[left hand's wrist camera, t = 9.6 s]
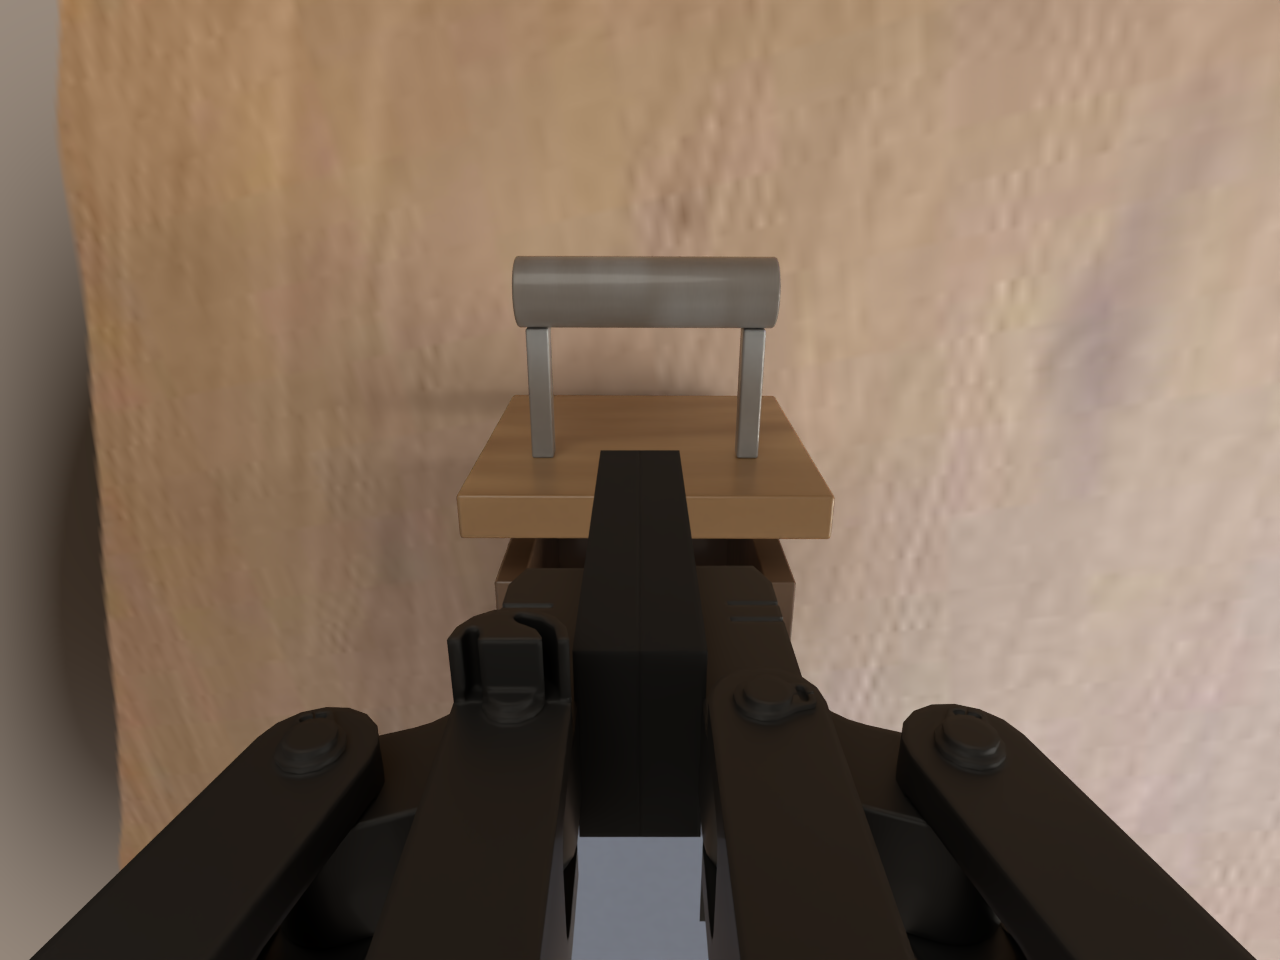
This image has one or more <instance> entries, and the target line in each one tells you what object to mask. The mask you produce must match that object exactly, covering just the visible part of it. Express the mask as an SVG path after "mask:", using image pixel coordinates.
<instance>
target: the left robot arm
mask: <svg viewBox="0 0 1280 960" xmlns="http://www.w3.org/2000/svg"><path fill="white" fill-rule="evenodd" d="M447 644H448V653H449V662H450V671H451V680H452V689H453V699H454V704H453V707H452V709H451V712H450V714H449V715H447V716H445V717H443V718H441V719H438V720H436V721H434V722H432V723H429V724H425V725H422V726H419V727H415V728H411V729H407V730H402V731H398V732H394V733H389V734H385V735H380V736H379V734H378V728H377V725H376V724H375V723H374V722H373V721H372V719H371V718H370V717H369V716H368V715H367V714H365V713H362V712H359V711H356V710H354V709H351V708H337V707H325V708H320V709H315V710H311V711H306V712H301V713H299V714H297V715H294V716H292V717H290V718H287V719H285V720H283V721H281V722H278V723H277V724H275V725H274V726H273V727H271V728H270V729H268V730H267V731H266V732H264V733H263V734H262V735H260V736H259V737H258V738H257V739H256V740H254V741H253V742H252V743H251V744H250V745H249V746H248V747H247V748H246V749H245V750H244V751H243V752H242V753H241V754H240V755H239V756H238V757H237V758H236V759H235V760H234V761H233V762H232V763H231V764H230V765H229V766H228V767H227V768H226V769H225V770H224V771H223V772H222V773H221V774H220V775H219V776H218V777H216V778H215V779H214V780H213V781H212V782H211V783H210V784H209V785H208V786H207V787H206V788H205V789H204V790H203V791H202V792H201V793H200V794H199V795H198V796H197V797H196V798H195V799H194V800H193V801H192V802H191V803H190V804H189V805H188V806H187V807H186V808H185V809H184V810H183V811H182V812H181V813H180V814H178V815H177V816H176V817H175V818H174V819H173V820H172V821H171V822H170V823H169V824H168V825H167V826H166V827H165V828H164V829H163V830H162V831H161V832H160V833H159V834H158V835H157V836H156V837H155V838H154V839H153V840H152V841H151V842H150V843H149V844H148V845H147V846H146V847H145V848H144V849H143V850H142V851H140V852H139V853H138V854H137V855H136V856H135V857H134V858H133V859H132V860H131V861H130V862H129V863H128V864H127V865H126V866H125V867H124V868H123V869H122V870H121V871H120V872H119V873H118V874H117V875H116V876H115V877H114V878H113V879H112V880H111V881H110V882H109V883H108V884H107V885H106V886H105V887H104V888H102V889H101V890H100V891H99V892H98V893H97V894H96V895H95V896H94V897H93V898H92V899H91V900H90V901H89V902H88V903H87V904H86V905H85V906H84V907H83V908H82V909H81V910H80V911H79V912H78V913H77V914H76V915H75V916H74V917H73V918H72V919H71V920H70V921H69V922H68V923H67V924H66V925H64V926H63V928H61V929H60V930H59V931H58V932H57V933H56V934H55V935H54V936H53V937H52V938H51V939H50V940H49V941H48V942H47V943H46V944H45V945H44V946H43V947H42V948H41V949H40V950H39V951H38V952H37V953H36V954H35V955H34V956H33V957H32V958H31V959H30V960H572V948H573V936H574V924H575V912H576V900H577V888H578V876H579V872H578V848H577V841H578V830H579V837H701V827H702V837H703V848H702V872H701V897H700V921H705V923H706V935H707V947H708V959H709V960H1256V959H1255V958H1254V957H1253V956H1252V955H1251V954H1250V953H1249V952H1248V951H1247V950H1246V949H1245V948H1244V947H1243V946H1242V945H1241V944H1240V943H1239V942H1238V941H1237V940H1236V939H1235V938H1234V937H1233V936H1232V935H1230V934H1229V933H1228V932H1227V931H1226V930H1225V929H1224V928H1223V927H1222V926H1221V925H1220V924H1219V923H1218V922H1217V921H1216V920H1215V919H1214V918H1213V917H1212V916H1211V915H1210V914H1209V913H1208V912H1207V911H1206V910H1205V909H1204V908H1203V907H1202V906H1200V905H1199V904H1198V903H1197V902H1196V901H1195V900H1194V899H1193V898H1192V897H1191V896H1190V895H1189V894H1188V893H1187V892H1186V891H1185V890H1184V889H1183V888H1182V887H1181V886H1180V885H1179V884H1178V883H1177V882H1176V881H1175V880H1174V879H1173V878H1172V877H1170V876H1169V875H1168V874H1167V873H1166V872H1165V871H1164V870H1163V869H1162V868H1161V867H1160V866H1159V865H1158V864H1157V863H1156V862H1155V861H1154V860H1153V859H1152V858H1151V857H1150V856H1149V855H1148V854H1147V853H1146V852H1145V851H1144V850H1143V849H1141V848H1140V847H1139V846H1138V845H1137V844H1136V843H1135V842H1134V841H1133V840H1132V839H1131V838H1130V837H1129V836H1128V835H1127V834H1126V833H1125V832H1124V831H1123V830H1122V829H1121V828H1120V827H1119V826H1118V825H1117V824H1116V823H1115V822H1114V821H1113V820H1111V819H1110V818H1109V817H1108V816H1107V815H1106V814H1105V813H1104V812H1103V811H1102V810H1101V809H1100V808H1099V807H1098V806H1097V805H1096V804H1095V803H1094V802H1093V801H1092V800H1091V799H1090V798H1089V797H1088V796H1087V795H1086V794H1085V793H1084V792H1083V791H1081V790H1080V789H1079V788H1078V787H1077V786H1076V785H1075V784H1074V783H1073V782H1072V781H1071V780H1070V779H1069V778H1068V777H1067V776H1066V775H1065V774H1064V773H1063V772H1062V771H1061V770H1060V769H1059V768H1058V767H1057V766H1056V765H1055V764H1054V763H1053V762H1051V761H1050V760H1049V759H1048V758H1047V757H1046V756H1045V755H1044V754H1043V753H1042V752H1041V751H1040V750H1039V749H1038V748H1037V747H1036V746H1035V745H1034V744H1033V743H1032V742H1031V741H1030V740H1029V739H1028V738H1027V737H1026V736H1025V735H1024V734H1022V733H1021V732H1020V731H1018V730H1017V729H1015V728H1014V727H1013V726H1011V725H1010V724H1009V723H1007V722H1006V721H1005V720H1003V719H1001V718H998V717H996V716H994V715H992V714H989V713H987V712H985V711H982V710H980V709H976V708H971V707H966V706H962V705H957V704H935V705H929V706H926V707H923V708H921V709H918V710H915V711H913V712H912V713H911V715H910V716H909V717H908V718H907V719H906V720H905V721H904V722H903V728H902V733H901V732H896V731H892V730H887V729H883V728H878V727H874V726H869V725H865V724H862V723H858V722H855V721H852V720H848V719H846V718H844V717H842V716H840V715H838V714H836V713H833V712H831V711H830V710H829V708H828V705H827V703H826V701H825V699H824V698H823V696H822V694H821V693H820V691H819V690H818V688H817V687H816V686H814V685H813V684H811V683H810V682H808V681H807V680H806V679H804V678H803V677H802V676H801V673H800V669H799V666H798V663H797V660H796V657H795V654H794V651H793V648H792V644H791V641H790V638H789V635H788V632H787V629H786V626H785V622H783V616H782V613H781V610H780V607H779V605H778V601H777V597H776V594H775V591H774V588H773V585H772V582H771V581H770V580H769V579H767V578H766V577H765V576H764V575H763V574H762V573H761V572H760V571H758V570H757V569H756V568H755V567H754V566H696V564H695V557H694V550H693V543H692V536H691V529H690V522H689V515H688V507H687V500H686V493H685V486H684V479H683V472H682V465H681V458H680V451H679V450H601V451H600V458H599V465H598V472H597V479H596V486H595V493H594V500H593V507H592V514H591V522H590V529H589V536H588V543H587V550H586V557H585V564H584V568H527V569H525V570H524V571H523V572H522V573H521V574H520V575H519V576H518V577H517V578H515V579H514V580H513V581H512V582H511V583H510V584H509V585H508V588H507V591H506V594H505V597H504V601H503V604H502V608H501V609H499V610H493V611H490V612H486V613H483V614H480V615H477V616H474V617H472V618H470V619H469V620H467V621H466V622H464V623H462V624H461V625H459V626H458V627H456V629H455V630H454V631H453V633H452V634H451V635H450V637H449V638H448V639H447Z"/></svg>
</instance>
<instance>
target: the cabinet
mask: <svg viewBox="0 0 1280 960" xmlns="http://www.w3.org/2000/svg"><path fill="white" fill-rule="evenodd" d="M577 848H578V872H579V876H578V888H577V900H576V912H575V924H574V936H573V948H572V960H709V959H708V947H707V935H706V923H705V921H700V897H701V872H702V848H703V837H702V827H701V837H579V830H578V841H577Z"/></svg>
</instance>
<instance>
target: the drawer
mask: <svg viewBox="0 0 1280 960" xmlns="http://www.w3.org/2000/svg"><path fill="white" fill-rule="evenodd" d="M780 291H781V278H780V267H779V262H778V259H777V258H776V257H637V256H517V257H516V258H515V260H514V264H513V271H512V299H513V309H514V316H515V320H516V323H517V325H518V326H519V327H527V329H526V347H527V366H528V385H529V395H515V396H513V398H512V399H511V401H510V403H509V405H508V406H507V408H506V410H505V412H504V414H503V415H502V417H501V419H500V421H499V422H498V424H497V426H496V428H495V429H494V431H493V433H492V435H491V437H490V438H489V440H488V442H487V444H486V445H485V447H484V449H483V451H482V453H481V454H480V456H479V458H478V460H477V461H476V463H475V465H474V467H473V468H472V470H471V472H470V474H469V476H468V477H467V479H466V481H465V483H464V484H463V486H462V488H461V490H460V492H459V493H458V495H457V507H458V518H459V529H460V535H461V537H462V538H511V539H510V541H509V544H508V547H507V550H506V553H505V556H504V558H503V561H502V564H501V567H500V570H499V573H498V575H497V578H496V581H495V592H496V605H497V610H499V609H501V608H502V604H503V601H504V597H505V594H506V591H507V588H508V585H509V584H510V583H511V582H512V581H513V580H514V579H515V578H517V577H518V576H519V575H520V574H521V573H522V572H523V571H524V570H525V569H527V568H584V564H585V557H586V550H587V543H588V536H589V529H590V522H591V514H592V507H593V500H594V493H595V486H596V479H597V472H598V465H599V458H600V451H601V450H679V451H680V458H681V465H682V472H683V479H684V486H685V493H686V500H687V507H688V515H689V522H690V529H691V536H692V543H693V550H694V557H695V564H696V566H754V567H755V568H756V569H757V570H758V571H760V572H761V573H762V574H763V575H764V576H765V577H766V578H767V579H769V580H770V581H771V582H772V585H773V588H774V591H775V594H776V597H777V601H778V605H779V607H780V610H781V613H782V616H783V622H785V626H786V629H787V632H788V635H789V638H790V641H791V630H792V619H793V607H794V596H795V585H796V583H795V580H794V578H793V575H792V572H791V570H790V567H789V564H788V562H787V559H786V557H785V554H784V551H783V549H782V546H781V543H780V541H779V539H829V538H830V536H831V529H832V520H833V510H834V501H835V498H834V496H833V494H832V492H831V491H830V489H829V487H828V486H827V484H826V482H825V481H824V479H823V477H822V476H821V474H820V472H819V471H818V469H817V467H816V466H815V464H814V462H813V460H812V459H811V457H810V455H809V454H808V452H807V450H806V449H805V447H804V445H803V444H802V442H801V440H800V439H799V437H798V435H797V434H796V432H795V430H794V429H793V427H792V425H791V424H790V422H789V420H788V419H787V417H786V415H785V414H784V412H783V410H782V409H781V407H780V405H779V404H778V402H777V400H776V399H775V397H774V396H762V385H763V370H764V354H765V339H766V331H765V329H764V328H773V327H774V326H775V324H776V321H777V318H778V312H779V305H780ZM551 327H586V328H741V338H740V357H739V376H738V395H737V396H587V395H553V376H552V350H551Z"/></svg>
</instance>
